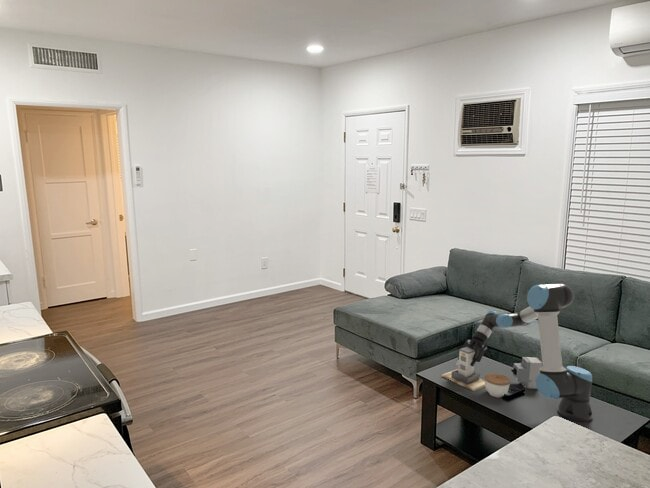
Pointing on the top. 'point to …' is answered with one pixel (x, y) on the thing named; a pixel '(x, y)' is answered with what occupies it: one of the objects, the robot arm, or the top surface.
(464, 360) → the power strip
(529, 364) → the circuit breaker
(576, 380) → the robot arm
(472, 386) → the mount board
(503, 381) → the lidded bowl
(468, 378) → the socket collar
